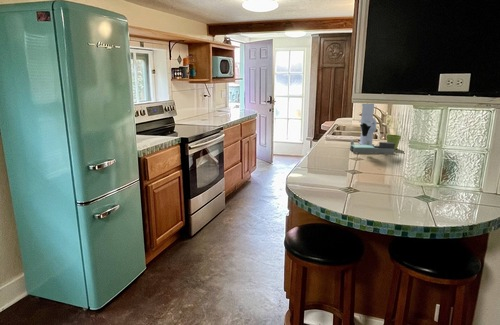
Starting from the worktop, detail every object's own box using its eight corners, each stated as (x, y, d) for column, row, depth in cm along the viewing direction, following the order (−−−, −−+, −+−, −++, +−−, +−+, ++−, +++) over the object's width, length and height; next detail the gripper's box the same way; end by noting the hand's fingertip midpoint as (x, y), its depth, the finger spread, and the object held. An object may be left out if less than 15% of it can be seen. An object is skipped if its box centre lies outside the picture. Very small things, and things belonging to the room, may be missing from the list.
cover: (351, 145, 216) (351, 144, 216) (370, 145, 216) (370, 144, 216) (355, 148, 208) (355, 147, 208) (374, 148, 208) (374, 147, 208)
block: (378, 151, 215) (379, 142, 213) (391, 151, 215) (392, 142, 213) (380, 152, 211) (381, 143, 210) (393, 153, 211) (394, 143, 209)
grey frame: (349, 149, 219) (349, 139, 218) (387, 149, 219) (388, 140, 218) (353, 153, 209) (354, 143, 207) (393, 153, 209) (394, 143, 207)
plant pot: (397, 147, 227) (398, 134, 225) (401, 150, 218) (403, 137, 216) (382, 146, 228) (384, 134, 226) (386, 149, 219) (388, 136, 217)
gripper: (356, 112, 213) (354, 133, 216) (363, 115, 199) (361, 138, 202) (367, 112, 213) (365, 134, 216) (376, 115, 199) (373, 138, 202)
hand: (364, 136), depth 209 cm, fingers closed
